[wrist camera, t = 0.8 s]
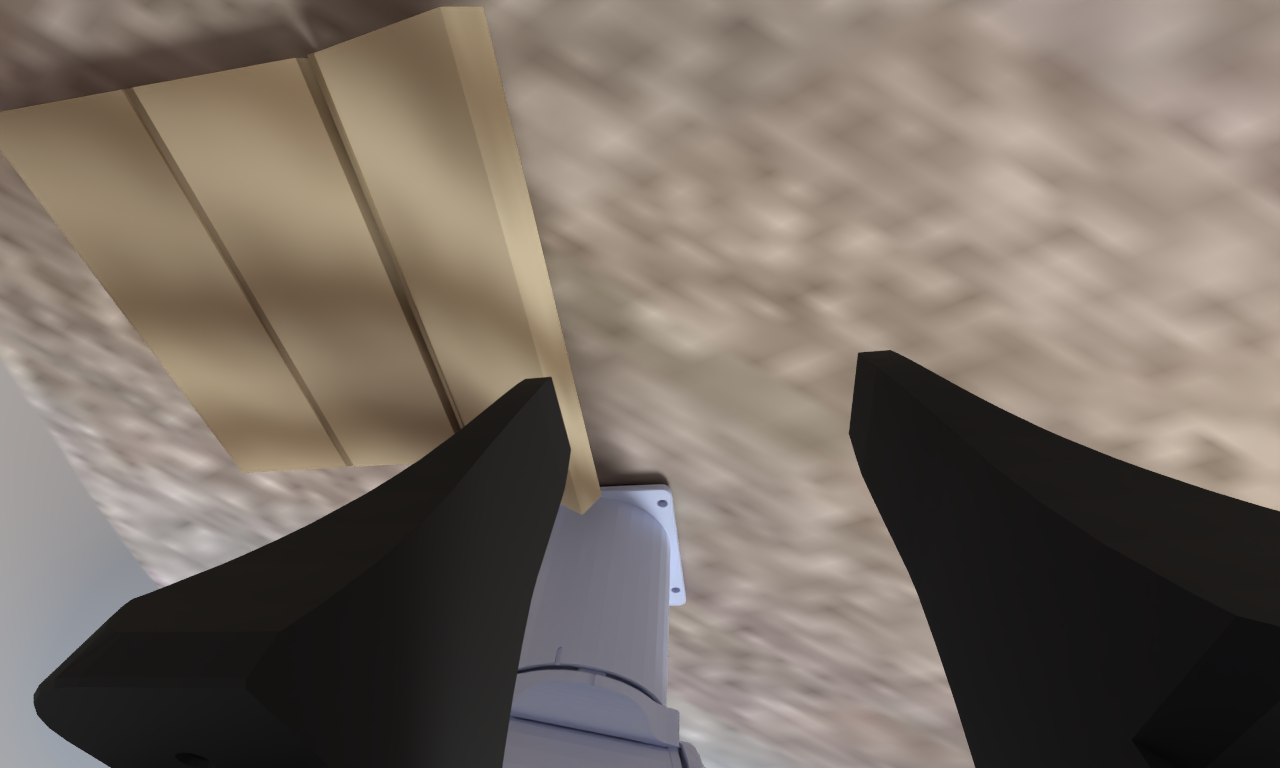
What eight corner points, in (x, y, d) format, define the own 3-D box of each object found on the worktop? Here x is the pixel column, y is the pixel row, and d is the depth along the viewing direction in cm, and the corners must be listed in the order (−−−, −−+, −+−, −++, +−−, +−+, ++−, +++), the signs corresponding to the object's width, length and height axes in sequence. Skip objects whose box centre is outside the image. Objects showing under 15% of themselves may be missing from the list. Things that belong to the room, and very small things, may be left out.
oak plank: (601, 495, 20) (581, 516, 19) (493, 445, 24) (472, 460, 23) (483, 6, 12) (437, 6, 11) (346, 52, 15) (304, 55, 15)
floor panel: (474, 444, 24) (465, 460, 23) (259, 457, 26) (242, 472, 25) (320, 58, 16) (295, 57, 15) (16, 113, 17) (-25, 116, 16)
